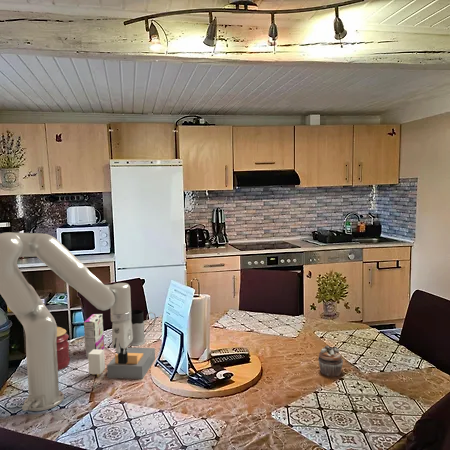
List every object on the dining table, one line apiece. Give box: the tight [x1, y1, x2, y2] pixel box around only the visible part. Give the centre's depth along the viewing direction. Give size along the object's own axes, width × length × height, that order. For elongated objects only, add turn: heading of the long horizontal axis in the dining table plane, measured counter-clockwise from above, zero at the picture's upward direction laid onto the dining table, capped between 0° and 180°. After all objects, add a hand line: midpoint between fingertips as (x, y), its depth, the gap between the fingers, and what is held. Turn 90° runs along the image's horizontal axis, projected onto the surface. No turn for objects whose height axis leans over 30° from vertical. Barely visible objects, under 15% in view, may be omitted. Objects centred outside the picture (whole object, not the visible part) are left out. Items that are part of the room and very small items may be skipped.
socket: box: [106, 347, 156, 380], centre depth 164 cm, size 18×14×5 cm
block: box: [87, 349, 106, 378], centre depth 158 cm, size 5×5×10 cm
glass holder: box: [128, 309, 157, 347], centre depth 193 cm, size 9×14×15 cm, turn 115°
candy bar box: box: [83, 313, 105, 359], centre depth 180 cm, size 11×5×16 cm, turn 179°
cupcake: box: [318, 344, 344, 377], centre depth 158 cm, size 10×10×10 cm
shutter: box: [114, 353, 143, 364], centre depth 161 cm, size 8×9×3 cm
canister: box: [57, 326, 71, 371], centre depth 167 cm, size 13×13×18 cm
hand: (123, 362), depth 153 cm, fingers closed
